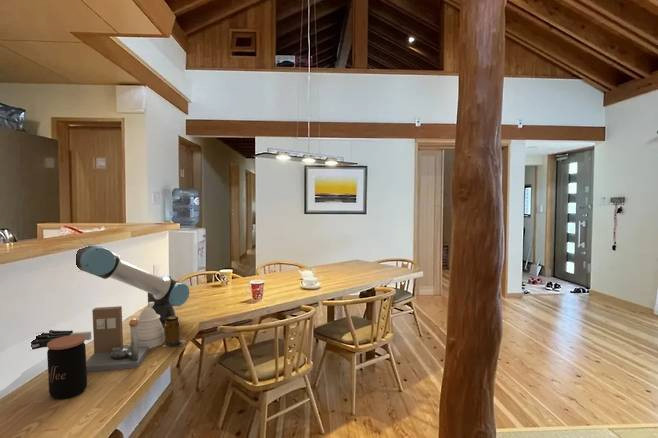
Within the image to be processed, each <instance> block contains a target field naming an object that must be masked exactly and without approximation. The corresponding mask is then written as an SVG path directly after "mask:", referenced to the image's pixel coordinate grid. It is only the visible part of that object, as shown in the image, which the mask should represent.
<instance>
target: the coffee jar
mask: <svg viewBox="0 0 658 438" xmlns="http://www.w3.org/2000/svg"><path fill="white" fill-rule="evenodd" d="M85 341H86V340H85V337H84V336H82V335H69V336H63V337H59V338H56V339H53V340H51V341H50V342H48V343H47V347H46V348H47V351H46V353H47V354H46V356H47V358H46V359H47V376H48V392H49V393H48V394H49V395H50V397H51V398H52V399H54V400H58V401H61V400H68V399H71V398H74V397H77V396H79V395H81V394H82V393H83V392H85V390H86V388H87V386H88V375H87V374H88V372H87V369H86V361H87V354H86V353H87V350H86V349H87V348H86V343H85Z"/></svg>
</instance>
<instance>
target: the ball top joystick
mask: <svg viewBox="0 0 658 438" xmlns="http://www.w3.org/2000/svg"><path fill="white" fill-rule="evenodd" d="M128 323H129V324H128V325H129V326H130V345H129V344H128V345H127V344H125V345H124V344H123V346H119V347H113V348H112V350H111V359H114V360H120V359H125V358H130V359H132V361H136V360H138V331H137V325H138V320H137V319H136V318H132V319H130V320H129V322H128Z"/></svg>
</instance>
